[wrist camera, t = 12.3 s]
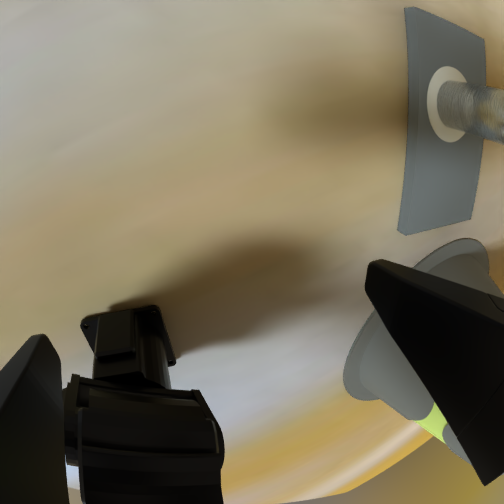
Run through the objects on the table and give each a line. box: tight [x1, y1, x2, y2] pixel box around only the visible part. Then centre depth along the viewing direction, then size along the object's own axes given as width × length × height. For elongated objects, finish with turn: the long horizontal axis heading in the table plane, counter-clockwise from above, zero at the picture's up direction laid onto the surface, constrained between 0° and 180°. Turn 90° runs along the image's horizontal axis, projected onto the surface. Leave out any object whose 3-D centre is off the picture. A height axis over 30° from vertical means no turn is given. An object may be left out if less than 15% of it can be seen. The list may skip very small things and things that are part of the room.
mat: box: [397, 7, 486, 236], centre depth 22 cm, size 20×11×1 cm, turn 4°
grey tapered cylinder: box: [343, 238, 504, 475], centre depth 27 cm, size 28×28×24 cm
